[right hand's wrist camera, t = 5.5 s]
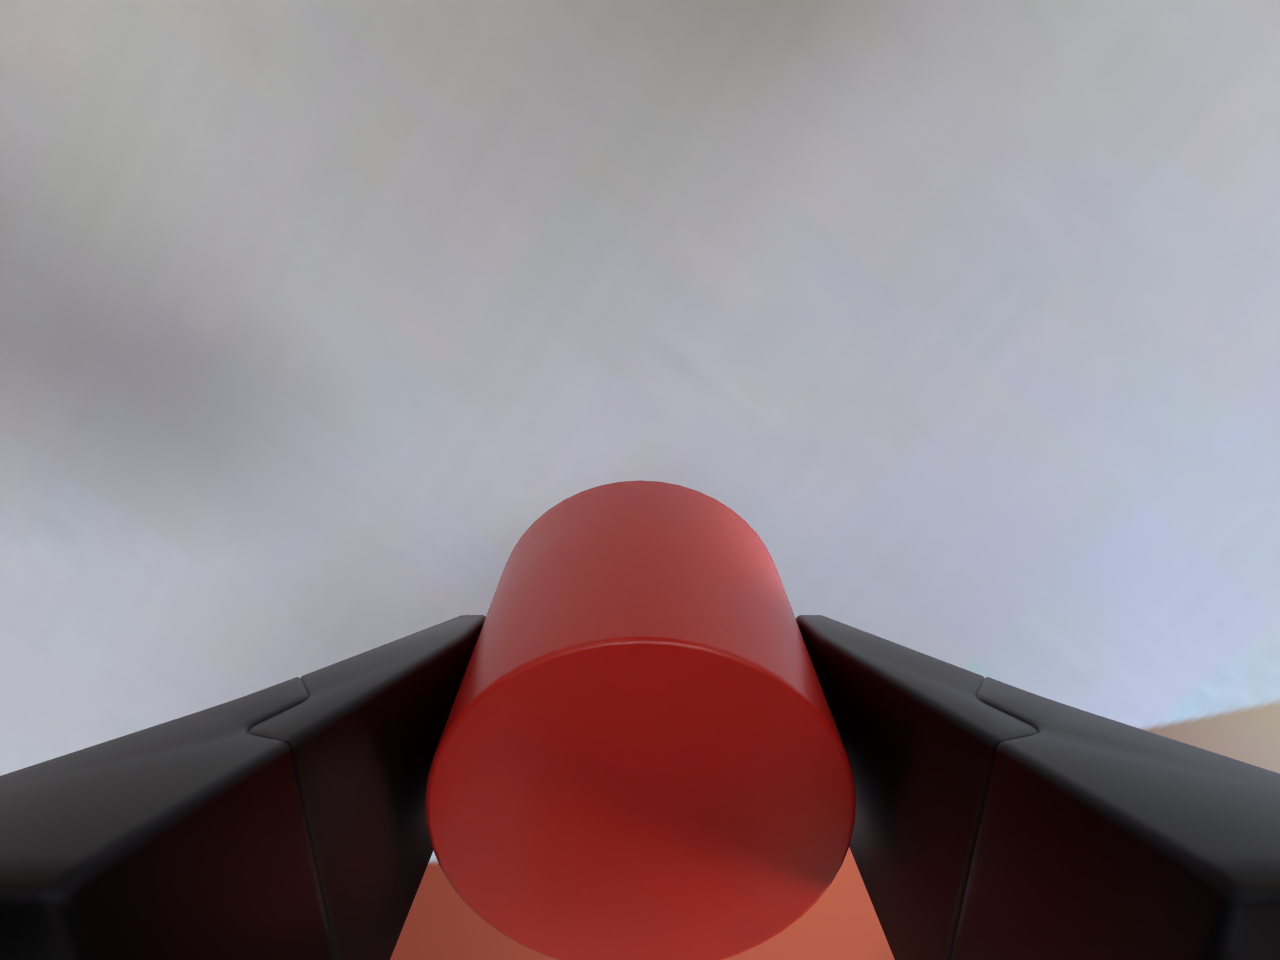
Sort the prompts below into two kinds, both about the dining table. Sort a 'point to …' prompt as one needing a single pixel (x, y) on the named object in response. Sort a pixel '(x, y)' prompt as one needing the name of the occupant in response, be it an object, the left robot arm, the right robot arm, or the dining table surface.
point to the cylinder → (640, 740)
